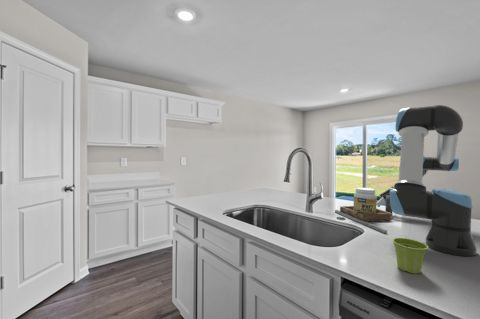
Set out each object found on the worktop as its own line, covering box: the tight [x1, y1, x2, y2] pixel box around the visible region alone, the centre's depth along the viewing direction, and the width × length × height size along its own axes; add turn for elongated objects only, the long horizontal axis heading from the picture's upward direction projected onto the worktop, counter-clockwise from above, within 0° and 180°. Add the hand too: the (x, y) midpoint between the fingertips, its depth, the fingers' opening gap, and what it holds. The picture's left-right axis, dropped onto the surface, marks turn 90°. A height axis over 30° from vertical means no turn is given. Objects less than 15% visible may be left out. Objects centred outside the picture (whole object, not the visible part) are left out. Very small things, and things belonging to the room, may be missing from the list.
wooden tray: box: [339, 195, 393, 222], centre depth 140 cm, size 19×28×12 cm
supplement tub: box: [352, 187, 378, 214], centre depth 139 cm, size 12×12×17 cm
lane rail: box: [334, 209, 388, 235], centre depth 130 cm, size 40×1×2 cm, turn 11°
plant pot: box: [392, 237, 430, 274], centre depth 76 cm, size 9×9×9 cm
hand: (385, 208), depth 142 cm, fingers open, 13 cm apart
